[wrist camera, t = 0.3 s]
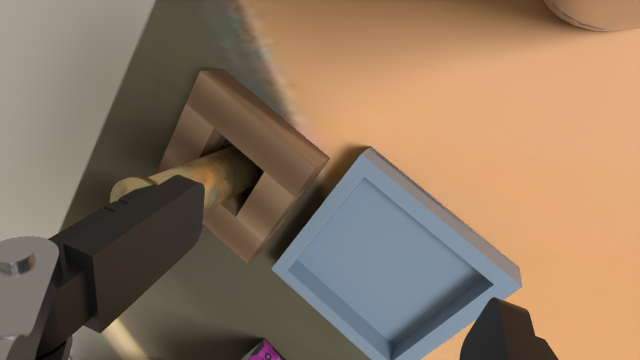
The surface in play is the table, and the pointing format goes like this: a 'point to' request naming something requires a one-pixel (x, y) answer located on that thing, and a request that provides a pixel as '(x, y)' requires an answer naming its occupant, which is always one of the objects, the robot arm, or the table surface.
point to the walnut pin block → (258, 145)
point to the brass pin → (204, 176)
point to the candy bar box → (263, 352)
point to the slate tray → (393, 264)
